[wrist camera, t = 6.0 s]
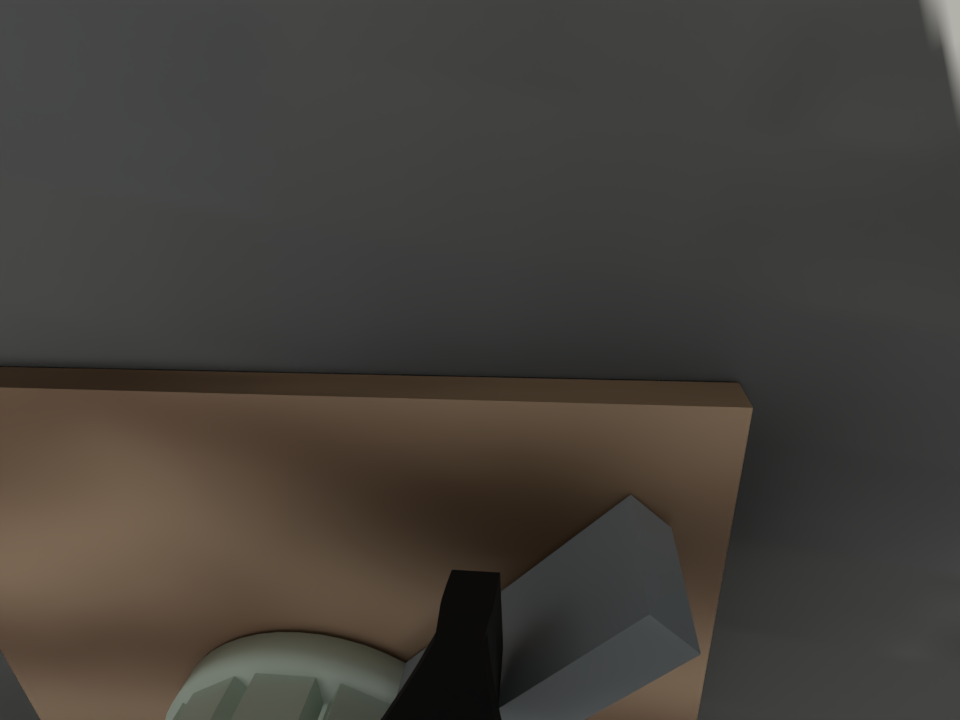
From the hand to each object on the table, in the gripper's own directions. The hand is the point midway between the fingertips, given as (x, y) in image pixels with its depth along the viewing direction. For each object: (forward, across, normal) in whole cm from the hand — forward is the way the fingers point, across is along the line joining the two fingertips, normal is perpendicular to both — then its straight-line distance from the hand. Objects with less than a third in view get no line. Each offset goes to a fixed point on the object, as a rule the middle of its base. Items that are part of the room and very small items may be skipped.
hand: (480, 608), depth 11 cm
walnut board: (+3, +5, +5) cm, 8 cm away
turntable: (+2, +3, +6) cm, 6 cm away
